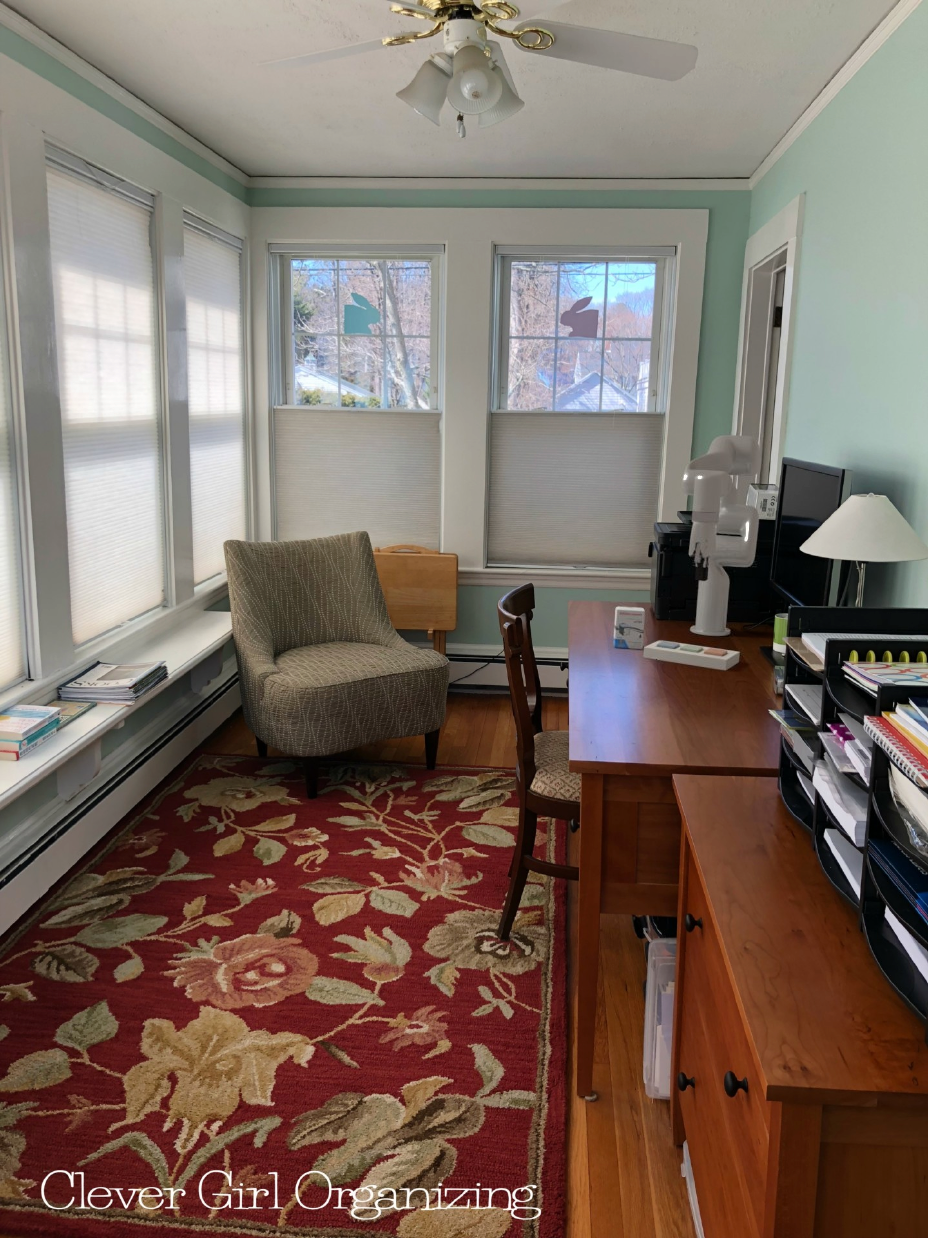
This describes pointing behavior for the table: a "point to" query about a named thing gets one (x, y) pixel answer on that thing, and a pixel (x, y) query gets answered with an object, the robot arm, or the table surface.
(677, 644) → the slate button
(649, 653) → the button panel
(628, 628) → the ink box
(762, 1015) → the table surface
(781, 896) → the table surface
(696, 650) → the sage button
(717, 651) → the terracotta button
